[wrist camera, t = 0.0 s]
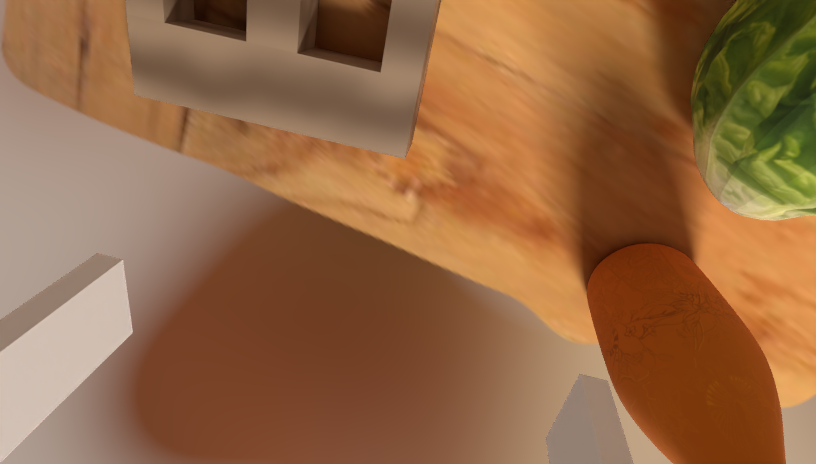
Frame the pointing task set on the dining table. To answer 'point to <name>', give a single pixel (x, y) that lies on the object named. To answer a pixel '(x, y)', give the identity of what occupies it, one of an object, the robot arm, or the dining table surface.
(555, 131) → the dining table surface
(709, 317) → the wine bottle
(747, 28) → the lettuce
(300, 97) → the board
